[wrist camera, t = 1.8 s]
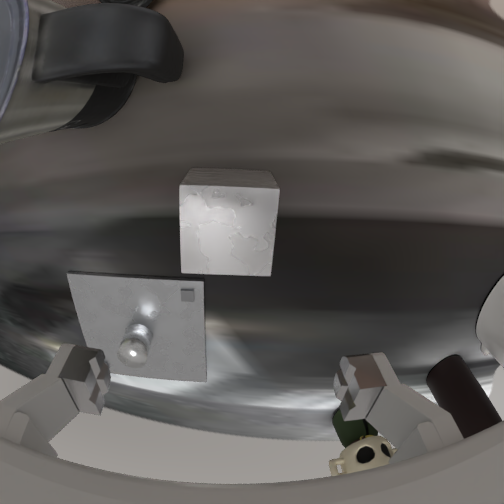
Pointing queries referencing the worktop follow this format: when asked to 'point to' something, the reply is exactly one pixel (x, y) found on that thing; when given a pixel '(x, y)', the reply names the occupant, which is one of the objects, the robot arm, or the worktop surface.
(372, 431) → the character mug
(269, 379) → the worktop surface
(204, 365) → the plate
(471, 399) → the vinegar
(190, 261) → the chalk-like cube
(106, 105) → the milk frother
